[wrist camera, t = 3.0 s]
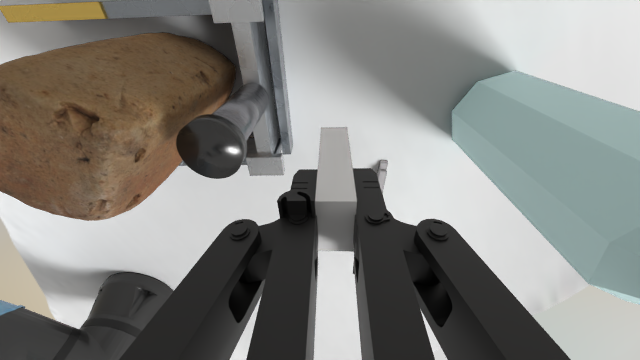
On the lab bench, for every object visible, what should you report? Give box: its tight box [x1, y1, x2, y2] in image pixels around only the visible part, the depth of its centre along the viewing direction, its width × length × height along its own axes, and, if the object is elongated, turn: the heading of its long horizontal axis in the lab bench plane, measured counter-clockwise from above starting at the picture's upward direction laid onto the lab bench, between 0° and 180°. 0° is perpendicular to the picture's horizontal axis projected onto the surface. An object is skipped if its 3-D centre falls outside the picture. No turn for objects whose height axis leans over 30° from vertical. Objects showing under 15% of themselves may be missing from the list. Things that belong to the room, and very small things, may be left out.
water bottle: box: [452, 70, 640, 305], centre depth 20 cm, size 10×10×25 cm
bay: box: [0, 0, 293, 166], centre depth 27 cm, size 23×16×5 cm
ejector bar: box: [176, 0, 285, 179], centre depth 22 cm, size 4×18×17 cm, turn 2°
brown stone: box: [0, 32, 236, 221], centre depth 21 cm, size 11×8×20 cm
